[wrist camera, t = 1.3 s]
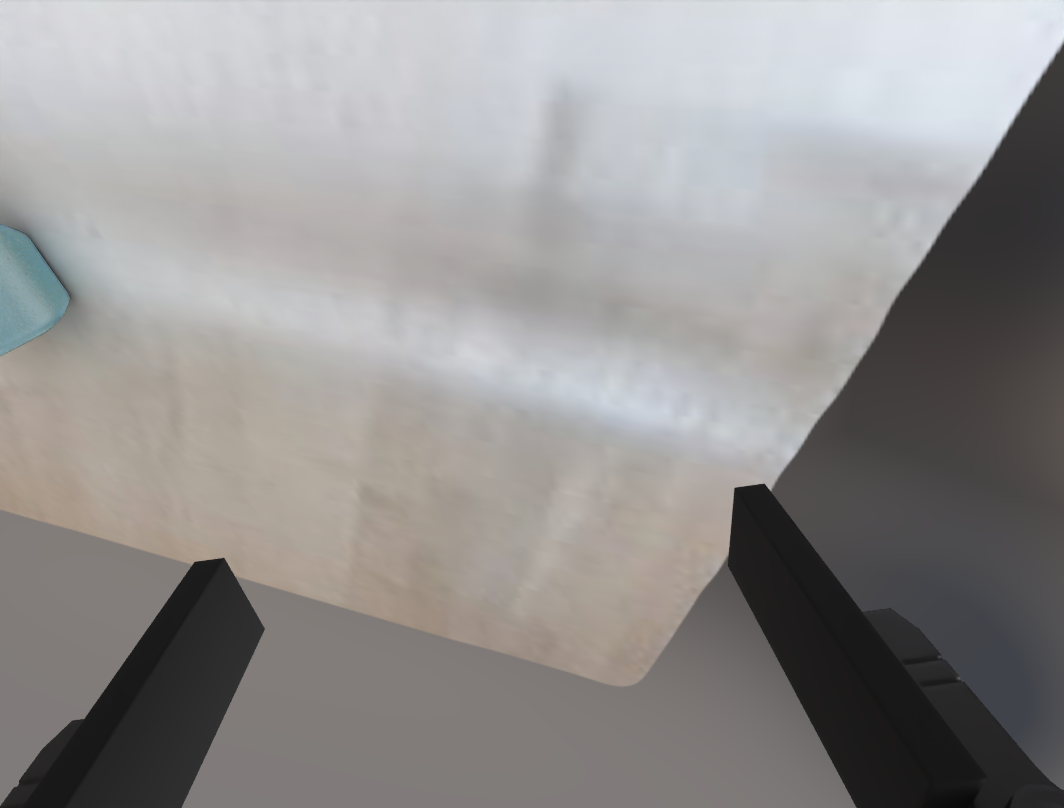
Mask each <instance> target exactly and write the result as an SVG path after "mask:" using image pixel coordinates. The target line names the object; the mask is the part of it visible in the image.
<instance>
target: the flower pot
mask: <svg viewBox="0 0 1064 808" xmlns="http://www.w3.org/2000/svg"><path fill="white" fill-rule="evenodd" d="M69 301H70V297H69V295H68V293H67V292H66V290H65V289H64V287H63V286H62V284H61V283H60V282H59V280H58V279H57V277H56V276H55V275H54V273H53V272H52V270H51V269H50V268H49V266H48V265H47V263H46V262H45V260H44V259H43V257H42V256H41V255H40V253H39V252H38V250H37V249H36V247H35V246H34V244H33V243H32V241H31V240H30V239H29V237H28V236H27V235H25V234H24V233H22V232H19V231H17V230H15V229H12V228H10V227H7V226H5V225H2V224H0V356H2V355H4V354H6V353H8V352H10V351H12V350H13V349H15V348H17V347H19V346H21V345H23V344H25V343H27V342H29V341H31V340H33V339H35V338H37V337H38V336H40V335H42V334H43V333H45V332H47V331H48V330H49V329H51V328H52V327H53V326H54V325H55V324H56V323H57V322H58V321H59V320H60V319H61V318H62V316H63V315H64V313H65V311H66V309H67V307H68V304H69Z"/></svg>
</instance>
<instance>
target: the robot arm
mask: <svg viewBox="0 0 1064 808" xmlns="http://www.w3.org/2000/svg"><path fill="white" fill-rule="evenodd" d="M728 567H729V569H730V571H731V572H732V574H733V576H734V578H735V580H736V582H737V584H738V586H739V587H740V589H741V591H742V593H743V595H744V597H745V599H746V601H747V602H748V604H749V606H750V608H751V610H752V612H753V614H754V615H755V618H756V619H757V621H758V623H759V625H760V627H761V629H762V631H763V633H764V634H765V636H766V638H767V640H768V642H769V644H770V646H771V648H772V650H773V651H774V653H775V655H776V657H777V659H778V661H779V663H780V665H781V666H782V668H783V670H784V672H785V674H786V676H787V678H788V679H789V681H790V683H791V685H792V687H793V689H794V691H795V693H796V695H797V697H798V698H799V700H800V702H801V704H802V706H803V708H804V710H805V712H806V713H807V715H808V717H809V719H810V721H811V723H812V725H813V726H814V728H815V730H816V732H817V734H818V736H819V738H820V740H821V742H822V744H823V745H824V747H825V749H826V751H827V753H828V755H829V757H830V759H831V760H832V762H833V764H834V766H835V768H836V770H837V772H838V773H839V775H840V777H841V779H842V781H843V783H844V785H845V787H846V789H847V790H848V792H849V794H850V796H851V798H852V800H853V802H854V804H855V806H856V807H857V808H1064V790H1062V789H1060V788H1059V787H1057V786H1056V785H1055V784H1054V783H1052V782H1051V781H1050V780H1049V779H1048V778H1047V777H1046V776H1045V775H1044V774H1043V773H1042V772H1041V771H1040V770H1039V769H1038V768H1037V767H1036V766H1035V765H1034V764H1033V762H1032V761H1031V760H1030V759H1029V758H1028V756H1027V755H1026V754H1025V753H1024V752H1023V751H1022V749H1021V748H1020V747H1019V746H1018V745H1017V743H1016V742H1015V741H1014V740H1013V739H1012V738H1011V736H1010V735H1009V734H1008V733H1007V732H1006V731H1005V729H1004V728H1003V727H1002V726H1001V725H1000V724H999V722H998V721H997V720H996V719H995V718H994V716H993V715H992V714H991V713H990V712H989V711H988V709H987V708H986V707H985V706H984V705H983V703H982V702H981V701H980V700H979V699H978V698H977V696H976V695H975V694H974V693H973V692H972V690H971V689H970V688H969V687H968V686H967V685H966V684H965V682H962V681H961V680H960V676H959V675H958V674H957V673H956V672H955V671H954V669H953V668H952V667H951V666H950V665H949V663H948V662H947V661H946V660H943V659H942V657H941V654H940V653H939V652H938V651H937V649H936V648H935V647H934V646H933V645H932V643H931V642H930V641H929V640H928V639H927V638H926V636H925V635H924V634H923V633H922V632H921V630H920V629H919V628H917V627H916V626H914V625H913V624H912V623H910V622H909V621H907V620H906V619H905V618H903V617H902V616H900V615H899V614H898V613H896V612H895V611H894V610H892V609H891V608H889V609H880V610H873V611H866V612H862V611H861V610H860V609H859V607H858V606H857V605H856V603H855V602H854V601H853V600H852V598H851V597H850V595H849V594H848V593H847V592H846V590H845V589H844V588H843V586H842V585H841V584H840V582H839V581H838V580H837V578H836V577H835V576H834V574H833V573H832V572H831V571H830V569H829V568H828V566H827V565H826V564H825V563H824V561H823V560H822V559H821V557H820V556H819V555H818V553H817V552H816V551H815V549H814V548H813V547H812V545H811V544H810V543H809V542H808V540H807V539H806V538H805V536H804V535H803V534H802V532H801V531H800V530H799V528H798V527H797V526H796V524H795V523H794V522H793V520H792V519H791V518H790V516H789V515H788V514H787V513H786V511H785V510H784V509H783V507H782V506H781V505H780V503H779V502H778V501H777V499H776V498H775V497H774V495H773V494H772V493H771V491H770V490H769V489H768V488H767V486H766V485H765V484H759V485H751V486H744V487H737V488H735V489H734V501H733V512H732V524H731V535H730V547H729V558H728ZM264 629H265V628H264V627H263V625H262V624H261V621H260V620H259V618H258V616H257V614H256V613H255V611H254V609H253V607H252V606H251V604H250V602H249V600H248V599H247V597H246V595H245V594H244V592H243V590H242V588H241V586H240V585H239V583H238V581H237V579H236V578H235V576H234V574H233V572H232V571H231V569H230V567H229V565H228V564H227V562H226V560H225V558H220V559H213V560H206V561H198V562H194V564H193V565H192V567H191V568H190V570H189V571H188V572H187V574H186V575H185V577H184V578H183V580H182V581H181V582H180V584H179V585H178V586H177V588H176V589H175V591H174V592H173V594H172V595H171V597H170V598H169V599H168V601H167V602H166V604H165V605H164V606H163V608H162V609H161V611H160V612H159V614H158V615H157V616H156V618H155V619H154V621H153V622H152V624H151V625H150V626H149V628H148V629H147V631H146V632H145V634H144V635H143V636H142V638H141V639H140V641H139V642H138V643H137V645H136V646H135V648H134V649H133V651H132V652H131V653H130V655H129V656H128V658H127V659H126V661H125V662H124V664H123V665H122V666H121V668H120V669H119V670H118V672H117V673H116V675H115V676H114V678H113V679H112V681H111V682H110V683H109V685H108V686H107V688H106V689H105V690H104V692H103V693H102V695H101V696H100V698H99V699H98V700H97V702H96V703H95V705H94V706H93V707H92V709H91V710H90V712H89V713H88V715H87V716H86V718H85V719H81V720H73V721H72V722H70V723H69V724H68V725H67V726H66V727H65V728H64V729H63V730H62V731H61V732H60V733H59V734H58V735H57V736H56V737H55V738H53V739H52V740H51V741H50V742H49V743H48V744H47V745H46V746H45V747H44V748H43V749H42V750H41V752H40V753H39V754H38V756H37V757H36V758H35V760H34V761H33V762H32V764H31V765H30V767H29V768H28V769H27V771H26V772H25V773H24V775H23V776H22V777H21V779H20V780H19V785H18V786H17V787H14V788H13V790H12V791H11V792H10V794H9V795H8V796H7V798H6V799H5V800H4V802H3V803H2V804H1V806H0V808H182V805H183V803H184V801H185V799H186V797H187V795H188V793H189V790H190V788H191V786H192V784H193V782H194V780H195V778H196V775H197V773H198V771H199V769H200V767H201V765H202V763H203V760H204V758H205V756H206V754H207V752H208V750H209V748H210V745H211V743H212V741H213V739H214V737H215V735H216V732H217V730H218V728H219V726H220V724H221V722H222V720H223V717H224V715H225V713H226V711H227V709H228V707H229V704H230V703H231V700H232V698H233V696H234V694H235V692H236V690H237V688H238V685H239V683H240V681H241V679H242V677H243V675H244V673H245V670H246V668H247V666H248V664H249V662H250V660H251V657H252V655H253V653H254V651H255V649H256V647H257V645H258V642H259V640H260V638H261V636H262V634H263V632H264Z"/></svg>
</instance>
